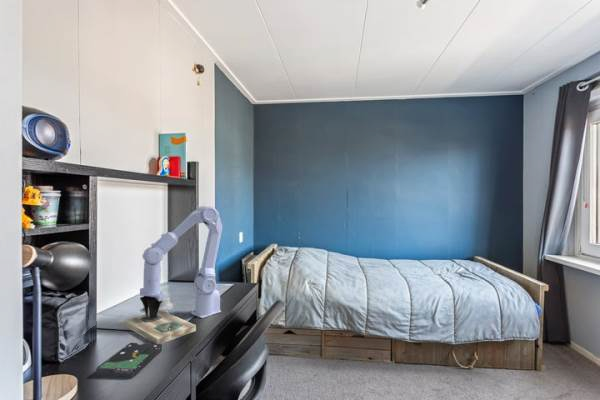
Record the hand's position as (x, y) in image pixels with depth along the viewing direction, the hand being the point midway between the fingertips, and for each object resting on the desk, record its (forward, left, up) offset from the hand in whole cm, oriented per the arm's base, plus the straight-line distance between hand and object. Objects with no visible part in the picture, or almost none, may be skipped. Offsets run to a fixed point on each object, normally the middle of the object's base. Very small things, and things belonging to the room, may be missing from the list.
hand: (151, 316), depth 113 cm
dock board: (0, +6, -3) cm, 7 cm away
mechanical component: (-11, -14, -3) cm, 18 cm away
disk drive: (+17, +23, -4) cm, 28 cm away
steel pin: (0, 0, -3) cm, 3 cm away
